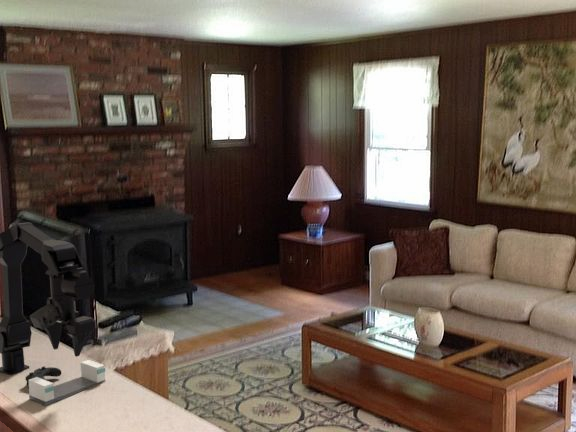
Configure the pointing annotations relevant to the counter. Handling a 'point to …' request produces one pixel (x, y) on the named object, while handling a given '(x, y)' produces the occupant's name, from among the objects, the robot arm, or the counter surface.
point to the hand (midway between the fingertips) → (66, 352)
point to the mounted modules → (46, 389)
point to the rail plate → (68, 389)
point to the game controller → (43, 373)
